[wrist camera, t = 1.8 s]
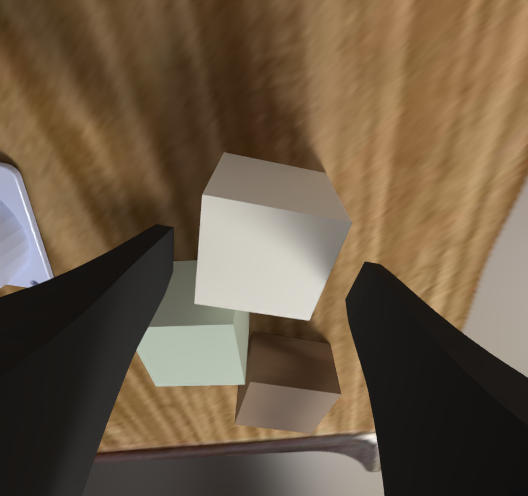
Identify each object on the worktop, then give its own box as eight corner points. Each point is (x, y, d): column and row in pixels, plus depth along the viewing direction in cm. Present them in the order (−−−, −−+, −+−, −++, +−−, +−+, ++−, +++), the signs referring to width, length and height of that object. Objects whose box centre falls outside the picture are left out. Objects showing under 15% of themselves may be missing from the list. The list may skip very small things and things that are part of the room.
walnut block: (239, 373, 23) (234, 424, 20) (253, 329, 20) (250, 381, 17) (305, 382, 24) (311, 433, 21) (329, 341, 21) (341, 394, 17)
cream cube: (214, 239, 15) (194, 303, 11) (224, 151, 13) (202, 194, 8) (298, 253, 16) (309, 320, 12) (326, 172, 13) (352, 222, 9)
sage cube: (180, 316, 19) (155, 386, 15) (160, 260, 16) (123, 327, 12) (250, 314, 19) (244, 384, 15) (242, 257, 16) (233, 324, 12)
